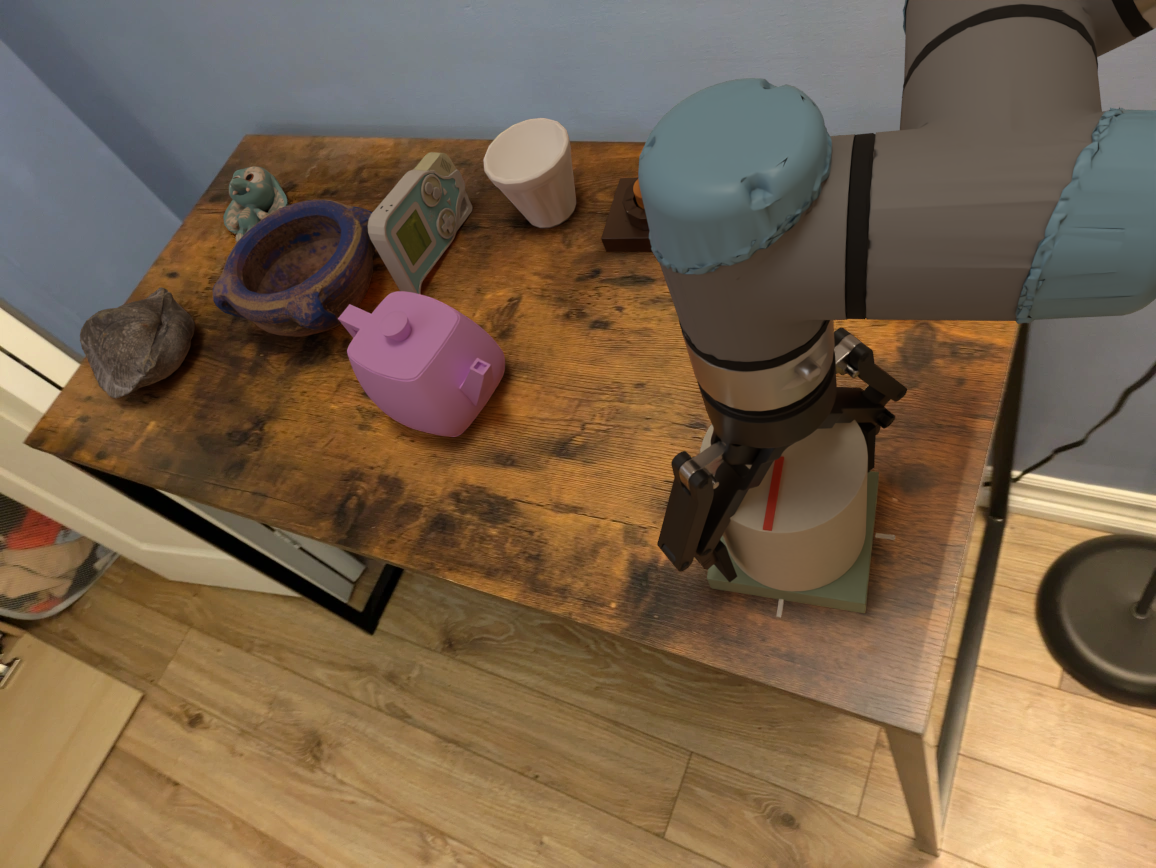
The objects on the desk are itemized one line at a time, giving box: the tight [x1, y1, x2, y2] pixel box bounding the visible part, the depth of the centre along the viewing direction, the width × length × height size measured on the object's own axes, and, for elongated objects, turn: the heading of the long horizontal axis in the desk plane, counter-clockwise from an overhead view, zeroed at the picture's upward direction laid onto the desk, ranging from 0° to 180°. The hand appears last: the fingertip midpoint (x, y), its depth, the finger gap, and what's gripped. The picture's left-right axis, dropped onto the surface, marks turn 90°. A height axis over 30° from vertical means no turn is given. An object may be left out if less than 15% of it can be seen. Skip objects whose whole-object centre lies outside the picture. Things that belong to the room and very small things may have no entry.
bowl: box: [212, 198, 376, 338], centre depth 92 cm, size 18×18×10 cm
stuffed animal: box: [222, 165, 289, 243], centre depth 106 cm, size 11×7×12 cm
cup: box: [483, 117, 577, 230], centre depth 88 cm, size 10×10×9 cm
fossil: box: [79, 287, 196, 399], centre depth 96 cm, size 15×14×10 cm
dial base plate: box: [706, 470, 896, 618], centre depth 63 cm, size 15×15×3 cm
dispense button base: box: [600, 177, 653, 253], centre depth 84 cm, size 11×9×4 cm
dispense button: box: [633, 179, 645, 210], centre depth 82 cm, size 4×4×2 cm
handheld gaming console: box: [368, 151, 473, 295], centre depth 91 cm, size 11×3×15 cm
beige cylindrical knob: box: [699, 420, 868, 591], centre depth 57 cm, size 11×11×12 cm
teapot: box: [338, 290, 506, 438], centre depth 77 cm, size 20×12×13 cm, turn 57°
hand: (790, 512), depth 60 cm, fingers open, 13 cm apart
